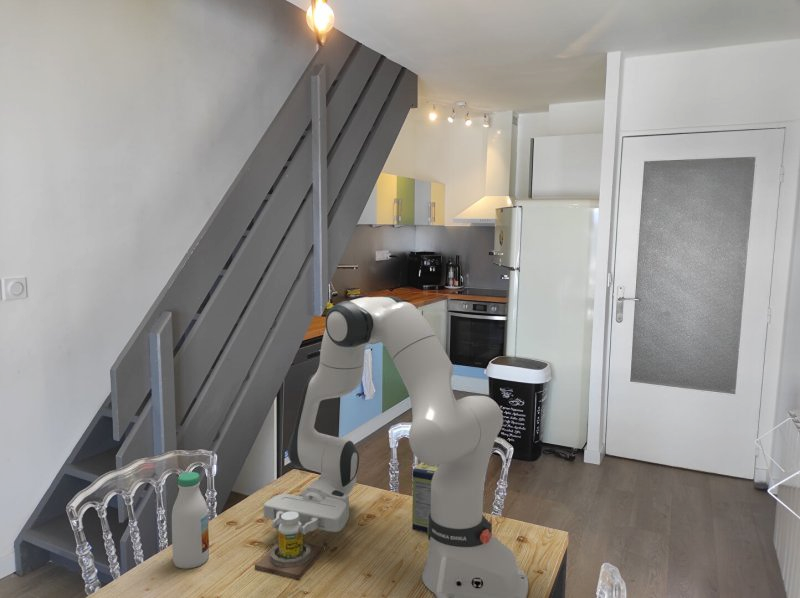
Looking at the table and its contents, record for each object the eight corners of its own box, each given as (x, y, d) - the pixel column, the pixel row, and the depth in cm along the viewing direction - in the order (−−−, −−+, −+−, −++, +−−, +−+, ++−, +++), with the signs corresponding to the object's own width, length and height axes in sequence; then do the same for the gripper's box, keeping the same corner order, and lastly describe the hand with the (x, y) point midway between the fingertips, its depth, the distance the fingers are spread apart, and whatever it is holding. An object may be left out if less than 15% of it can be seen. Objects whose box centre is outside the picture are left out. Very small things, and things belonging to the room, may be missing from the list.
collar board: (324, 550, 133) (324, 541, 133) (298, 579, 122) (298, 569, 122) (283, 542, 137) (283, 533, 137) (254, 569, 126) (254, 559, 126)
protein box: (468, 510, 154) (469, 455, 152) (450, 538, 140) (452, 477, 138) (431, 503, 158) (432, 449, 156) (411, 529, 144) (411, 470, 142)
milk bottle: (194, 572, 124) (191, 485, 122) (165, 566, 127) (162, 479, 125) (216, 554, 132) (214, 471, 129) (188, 548, 134) (186, 466, 132)
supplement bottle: (297, 546, 133) (296, 507, 132) (306, 557, 129) (306, 516, 128) (275, 553, 130) (274, 513, 129) (284, 564, 126) (283, 523, 125)
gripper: (280, 483, 144) (248, 507, 131) (354, 495, 137) (328, 522, 124) (281, 506, 145) (249, 533, 132) (354, 520, 138) (328, 550, 125)
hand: (288, 528), depth 128 cm, fingers closed on supplement bottle, 5 cm apart
